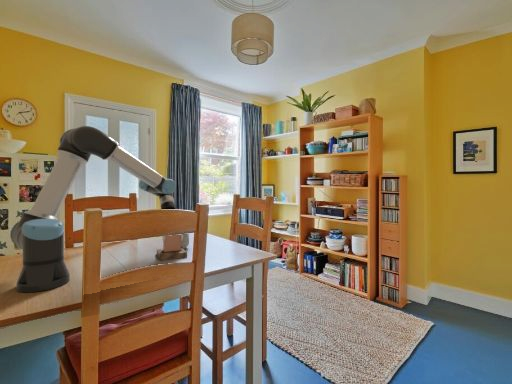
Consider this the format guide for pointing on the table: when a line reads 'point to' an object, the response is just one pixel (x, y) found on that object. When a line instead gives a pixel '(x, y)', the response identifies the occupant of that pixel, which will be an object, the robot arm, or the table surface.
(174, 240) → the pinkish brown block
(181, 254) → the base board
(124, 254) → the table surface
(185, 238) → the grey rounded piece
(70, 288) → the table surface
